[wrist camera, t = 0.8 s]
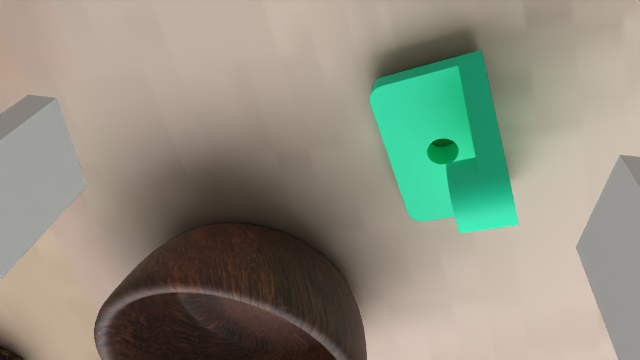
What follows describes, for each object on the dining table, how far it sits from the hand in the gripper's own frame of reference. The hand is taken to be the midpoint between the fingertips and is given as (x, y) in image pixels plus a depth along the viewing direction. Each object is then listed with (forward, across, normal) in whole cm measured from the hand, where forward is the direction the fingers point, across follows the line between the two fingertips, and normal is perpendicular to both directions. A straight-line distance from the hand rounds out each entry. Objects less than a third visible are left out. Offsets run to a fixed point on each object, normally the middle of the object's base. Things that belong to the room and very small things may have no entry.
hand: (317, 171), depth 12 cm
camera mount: (+23, +6, -12) cm, 26 cm away
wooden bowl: (+23, -10, -33) cm, 41 cm away
